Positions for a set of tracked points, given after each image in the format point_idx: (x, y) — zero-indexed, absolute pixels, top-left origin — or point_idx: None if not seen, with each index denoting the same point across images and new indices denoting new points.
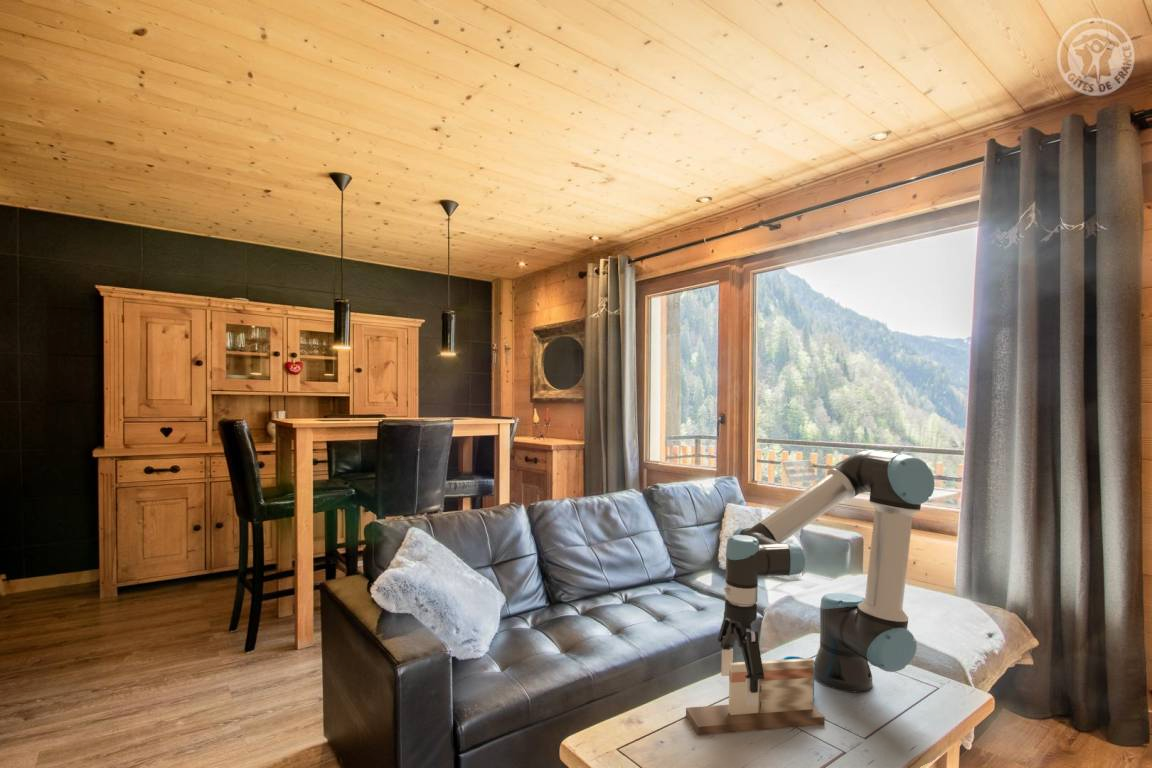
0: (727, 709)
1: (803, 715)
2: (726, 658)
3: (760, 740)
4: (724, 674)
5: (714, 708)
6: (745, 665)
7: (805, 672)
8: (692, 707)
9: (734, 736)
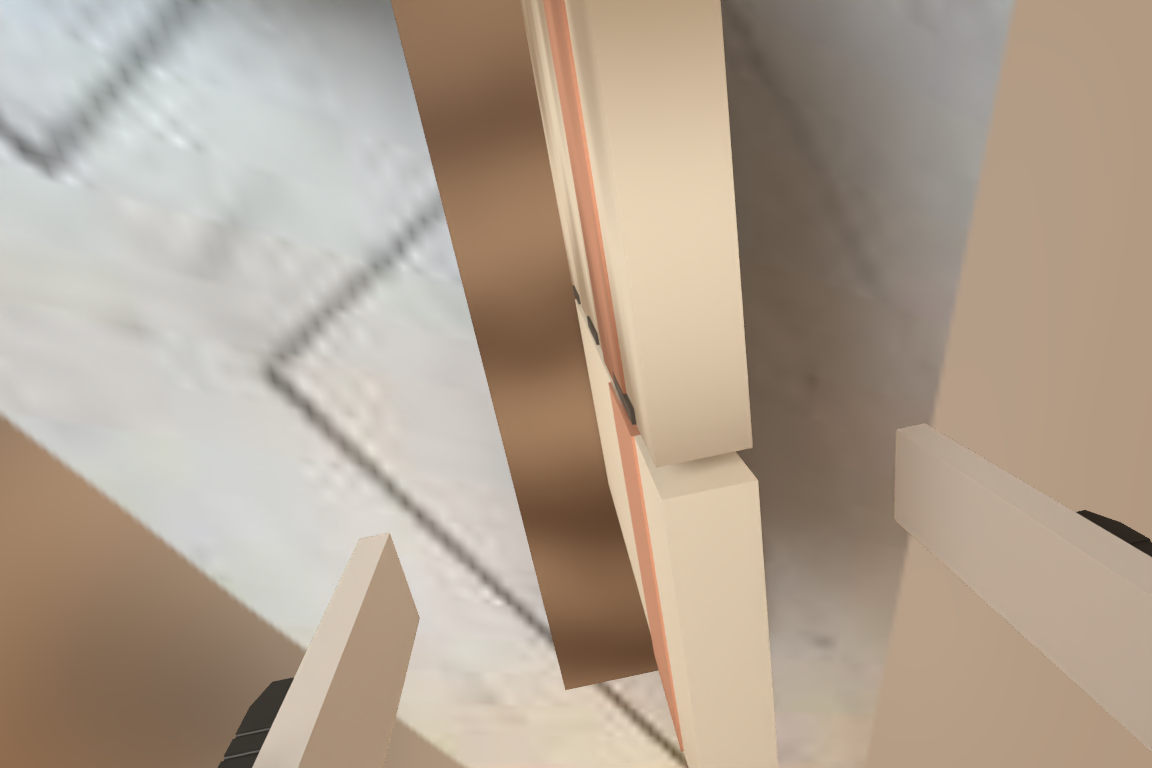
0: (569, 483)
1: None
2: (364, 752)
3: (794, 320)
4: (412, 612)
5: (563, 555)
6: (763, 668)
7: None
8: (560, 661)
9: (747, 453)
